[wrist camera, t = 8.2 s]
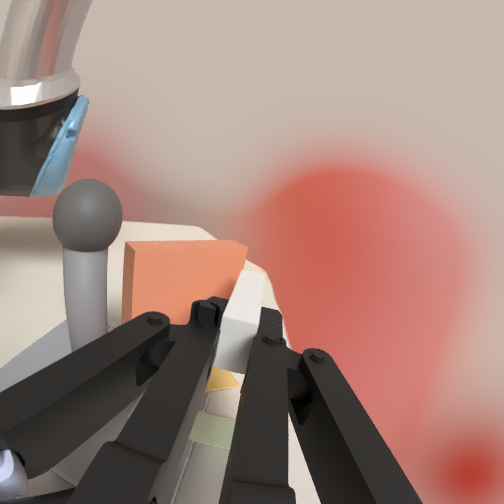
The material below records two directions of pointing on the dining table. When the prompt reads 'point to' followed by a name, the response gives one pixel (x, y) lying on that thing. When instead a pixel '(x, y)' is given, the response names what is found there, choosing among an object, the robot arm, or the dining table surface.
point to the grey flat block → (76, 463)
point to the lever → (132, 265)
